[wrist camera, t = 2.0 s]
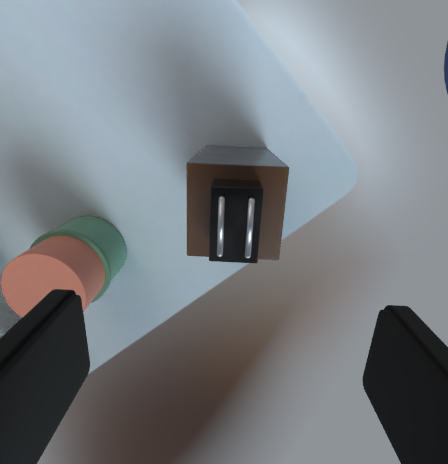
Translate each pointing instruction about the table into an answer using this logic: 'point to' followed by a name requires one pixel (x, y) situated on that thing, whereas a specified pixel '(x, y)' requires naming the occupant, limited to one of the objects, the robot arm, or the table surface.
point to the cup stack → (65, 264)
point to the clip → (235, 220)
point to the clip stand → (240, 168)
